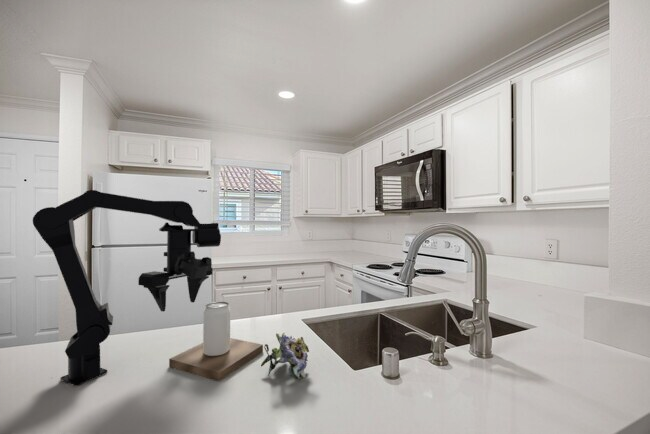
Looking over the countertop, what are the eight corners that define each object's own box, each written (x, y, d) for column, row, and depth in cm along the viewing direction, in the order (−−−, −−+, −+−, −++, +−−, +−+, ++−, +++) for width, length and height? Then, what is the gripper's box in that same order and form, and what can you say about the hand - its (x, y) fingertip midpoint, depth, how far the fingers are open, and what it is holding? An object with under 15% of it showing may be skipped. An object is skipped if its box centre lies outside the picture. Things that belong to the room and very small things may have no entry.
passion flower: (301, 401, 67) (308, 374, 60) (253, 393, 67) (255, 365, 60) (307, 354, 76) (314, 326, 70) (265, 347, 76) (268, 318, 69)
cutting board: (169, 367, 72) (169, 358, 72) (218, 342, 87) (218, 335, 87) (218, 381, 65) (218, 372, 65) (262, 352, 80) (262, 344, 80)
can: (219, 358, 72) (220, 309, 72) (197, 355, 74) (198, 306, 74) (235, 348, 78) (235, 302, 78) (214, 345, 80) (214, 300, 80)
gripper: (169, 253, 67) (168, 321, 67) (227, 246, 85) (226, 301, 84) (137, 250, 72) (136, 315, 72) (198, 245, 89) (197, 297, 89)
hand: (178, 306), depth 79 cm, fingers open, 9 cm apart
